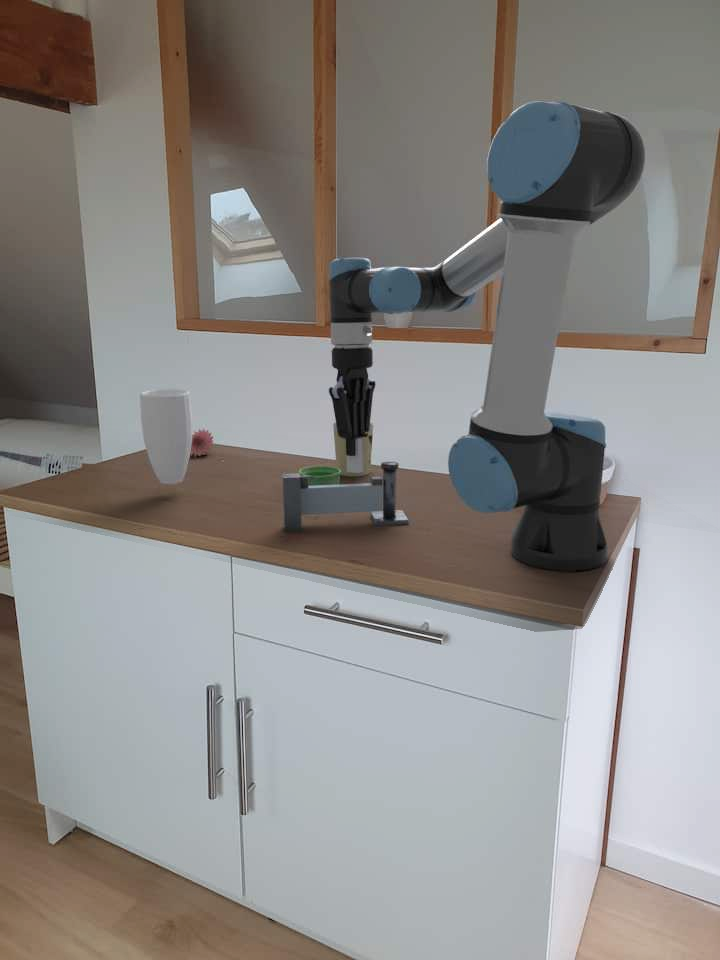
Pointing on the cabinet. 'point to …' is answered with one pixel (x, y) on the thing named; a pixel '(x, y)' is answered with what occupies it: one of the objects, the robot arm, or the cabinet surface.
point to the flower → (201, 443)
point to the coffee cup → (341, 452)
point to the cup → (167, 432)
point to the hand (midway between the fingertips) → (354, 471)
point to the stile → (292, 502)
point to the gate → (340, 497)
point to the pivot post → (389, 498)
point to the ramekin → (321, 475)
